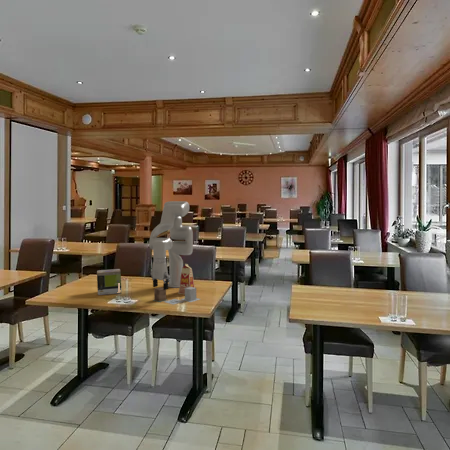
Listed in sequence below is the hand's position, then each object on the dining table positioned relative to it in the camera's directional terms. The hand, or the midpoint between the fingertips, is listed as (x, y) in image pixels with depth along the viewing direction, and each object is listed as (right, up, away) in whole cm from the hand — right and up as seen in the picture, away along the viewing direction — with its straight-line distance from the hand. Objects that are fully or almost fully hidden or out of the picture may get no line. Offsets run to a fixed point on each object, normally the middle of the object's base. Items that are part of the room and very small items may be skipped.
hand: (160, 287), depth 244 cm
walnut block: (0, -7, 0) cm, 7 cm away
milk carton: (+14, -6, +18) cm, 24 cm away
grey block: (+18, -7, +1) cm, 20 cm away
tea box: (-37, -7, +20) cm, 42 cm away
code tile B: (+18, -7, +1) cm, 20 cm away
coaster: (0, -8, 0) cm, 8 cm away
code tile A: (+9, -8, -4) cm, 12 cm away
